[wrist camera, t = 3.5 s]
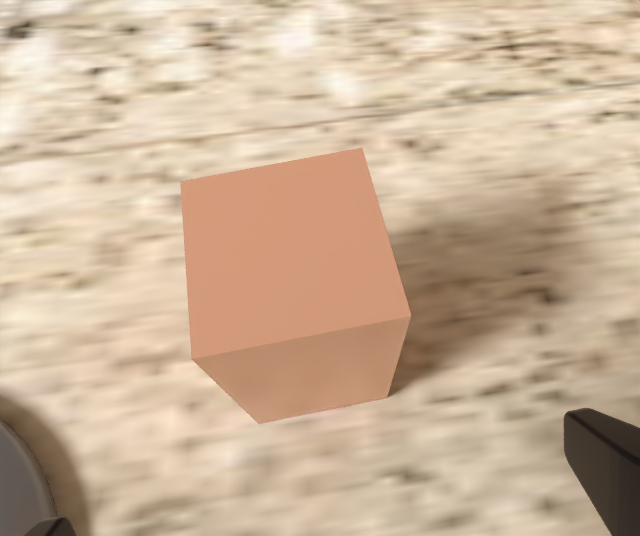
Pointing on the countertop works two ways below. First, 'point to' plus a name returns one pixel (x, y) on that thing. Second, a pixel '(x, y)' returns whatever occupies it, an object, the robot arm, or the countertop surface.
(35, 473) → the slate plate
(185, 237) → the tall clay pillar
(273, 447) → the countertop surface
